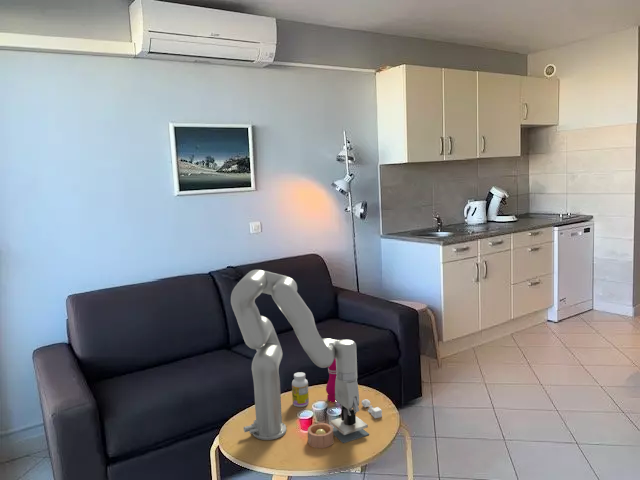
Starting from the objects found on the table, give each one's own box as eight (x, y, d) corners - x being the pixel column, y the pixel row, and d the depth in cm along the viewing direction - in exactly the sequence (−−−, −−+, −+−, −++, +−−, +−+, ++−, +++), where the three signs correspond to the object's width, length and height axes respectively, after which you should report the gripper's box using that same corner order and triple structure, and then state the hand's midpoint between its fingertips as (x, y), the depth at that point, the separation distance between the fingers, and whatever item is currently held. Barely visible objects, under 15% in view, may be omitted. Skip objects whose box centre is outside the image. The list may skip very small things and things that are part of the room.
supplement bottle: (290, 401, 220) (289, 372, 219) (306, 399, 222) (305, 370, 220) (295, 408, 214) (293, 378, 212) (310, 406, 216) (309, 376, 214)
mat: (343, 443, 187) (343, 442, 187) (327, 430, 196) (327, 429, 196) (369, 434, 192) (369, 433, 192) (353, 422, 202) (353, 421, 202)
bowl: (315, 450, 183) (315, 438, 182) (303, 439, 191) (303, 427, 190) (338, 443, 187) (337, 431, 186) (325, 432, 195) (325, 420, 194)
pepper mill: (339, 394, 226) (338, 349, 223) (346, 401, 219) (345, 355, 216) (323, 397, 223) (322, 352, 220) (330, 404, 217) (328, 357, 214)
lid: (344, 435, 187) (343, 419, 186) (330, 423, 196) (329, 408, 195) (367, 427, 192) (367, 411, 191) (353, 416, 201) (352, 401, 200)
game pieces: (382, 417, 205) (382, 409, 205) (374, 419, 204) (374, 411, 203) (367, 404, 216) (367, 397, 216) (360, 406, 215) (360, 398, 214)
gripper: (326, 369, 196) (328, 415, 199) (350, 384, 182) (351, 434, 185) (343, 364, 200) (345, 410, 203) (368, 379, 185) (369, 428, 188)
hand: (348, 421), depth 194 cm, fingers closed on lid, 3 cm apart
